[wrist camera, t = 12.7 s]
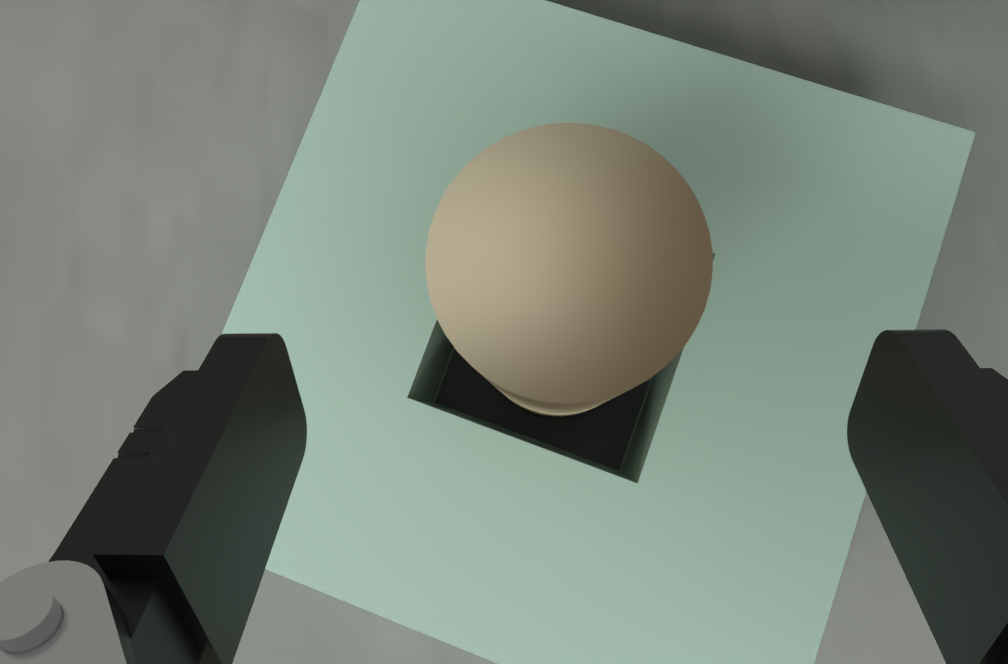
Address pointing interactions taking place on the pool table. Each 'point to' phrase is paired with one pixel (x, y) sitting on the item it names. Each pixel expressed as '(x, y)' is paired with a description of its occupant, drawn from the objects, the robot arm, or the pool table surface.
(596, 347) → the pin
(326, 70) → the pool table surface
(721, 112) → the socket block
